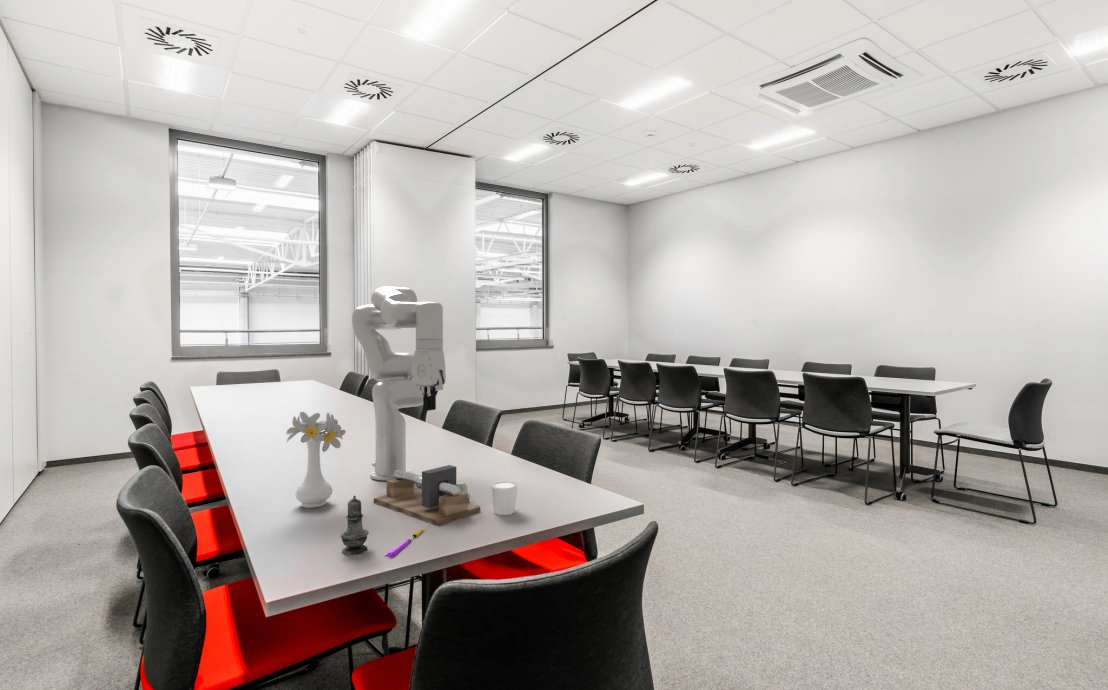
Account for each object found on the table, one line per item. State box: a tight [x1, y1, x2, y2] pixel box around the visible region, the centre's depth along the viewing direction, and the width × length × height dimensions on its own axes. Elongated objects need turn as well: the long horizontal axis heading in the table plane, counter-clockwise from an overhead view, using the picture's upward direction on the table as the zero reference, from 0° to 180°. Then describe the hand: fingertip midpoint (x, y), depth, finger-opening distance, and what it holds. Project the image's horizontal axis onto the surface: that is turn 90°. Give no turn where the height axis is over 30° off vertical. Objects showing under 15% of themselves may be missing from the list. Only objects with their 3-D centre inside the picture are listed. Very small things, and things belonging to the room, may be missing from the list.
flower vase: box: [285, 411, 346, 509], centre depth 148 cm, size 13×18×25 cm
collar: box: [421, 464, 457, 508], centre depth 144 cm, size 3×9×9 cm, turn 141°
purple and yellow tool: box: [384, 528, 425, 558], centre depth 122 cm, size 3×1×16 cm
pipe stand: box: [373, 478, 481, 526], centre depth 147 cm, size 28×14×5 cm, turn 51°
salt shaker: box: [339, 495, 370, 556], centre depth 118 cm, size 6×6×12 cm
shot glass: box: [490, 481, 518, 516], centre depth 144 cm, size 7×7×7 cm
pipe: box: [394, 470, 461, 496], centre depth 147 cm, size 26×3×3 cm, turn 51°
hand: (429, 409), depth 155 cm, fingers closed
